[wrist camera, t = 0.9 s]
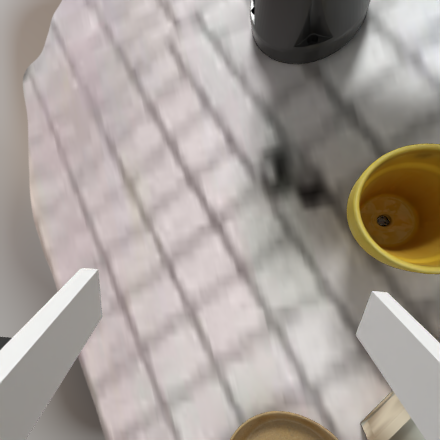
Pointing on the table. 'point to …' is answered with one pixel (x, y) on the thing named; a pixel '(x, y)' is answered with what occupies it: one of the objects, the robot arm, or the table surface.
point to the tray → (390, 422)
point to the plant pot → (400, 208)
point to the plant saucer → (281, 428)
